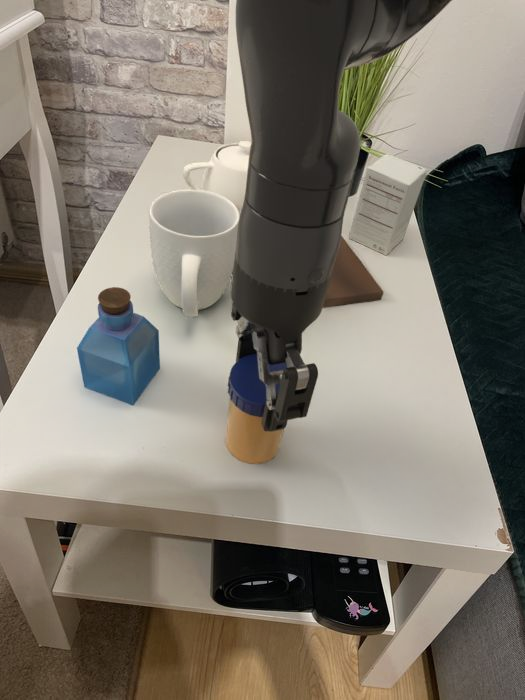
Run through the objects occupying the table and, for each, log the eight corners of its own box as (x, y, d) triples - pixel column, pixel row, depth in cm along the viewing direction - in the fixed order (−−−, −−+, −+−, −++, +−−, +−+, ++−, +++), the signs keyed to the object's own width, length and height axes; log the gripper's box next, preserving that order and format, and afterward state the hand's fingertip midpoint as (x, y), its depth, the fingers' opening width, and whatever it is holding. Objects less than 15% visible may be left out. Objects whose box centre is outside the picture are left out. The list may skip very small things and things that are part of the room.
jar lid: (281, 361, 54) (284, 348, 52) (305, 410, 50) (309, 398, 48) (219, 372, 52) (220, 358, 50) (239, 424, 48) (240, 411, 46)
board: (336, 238, 87) (338, 230, 86) (381, 299, 77) (384, 291, 76) (220, 249, 81) (220, 241, 80) (251, 317, 70) (253, 309, 69)
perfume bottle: (84, 386, 59) (68, 305, 50) (113, 351, 63) (104, 271, 55) (133, 405, 58) (125, 325, 49) (159, 368, 62) (157, 289, 54)
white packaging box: (366, 221, 92) (386, 152, 83) (404, 238, 89) (429, 168, 81) (346, 238, 87) (366, 166, 78) (386, 256, 85) (410, 184, 76)
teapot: (192, 229, 84) (193, 165, 76) (173, 187, 93) (173, 126, 85) (316, 219, 91) (329, 159, 83) (288, 180, 99) (297, 123, 92)
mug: (232, 345, 66) (241, 260, 57) (144, 340, 65) (138, 252, 56) (232, 273, 77) (240, 192, 68) (156, 268, 76) (153, 184, 66)
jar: (269, 413, 59) (281, 354, 53) (288, 457, 55) (303, 399, 49) (218, 423, 57) (224, 363, 51) (234, 469, 54) (242, 411, 47)
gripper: (212, 208, 43) (203, 348, 54) (270, 324, 34) (244, 464, 45) (296, 202, 45) (270, 338, 57) (372, 310, 36) (323, 446, 47)
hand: (259, 394), depth 51 cm, fingers open, 7 cm apart
